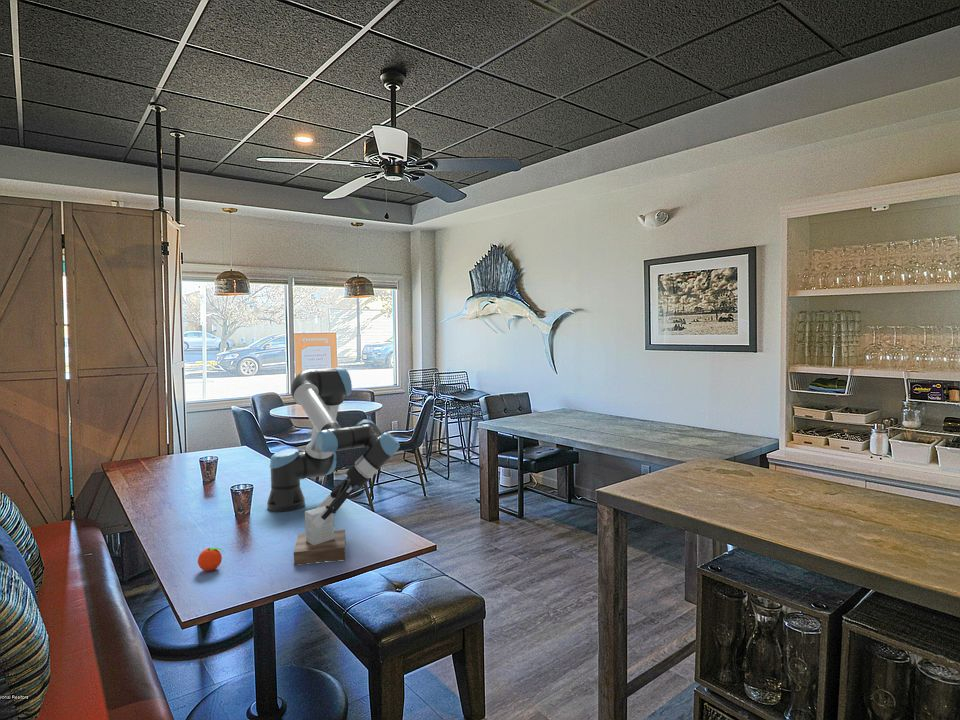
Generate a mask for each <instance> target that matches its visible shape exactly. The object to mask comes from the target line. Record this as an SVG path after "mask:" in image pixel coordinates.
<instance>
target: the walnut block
mask: <svg viewBox="0 0 960 720" xmlns="http://www.w3.org/2000/svg"><path fill="white" fill-rule="evenodd" d="M338 560H345V561H346V529H341V530H334V539H333V540H330V541H327V542H323V543H320V544H317V545H312V544H310V543H308V542H307V541H306V532H304V533H297V537H296V541H295V545H294V550H293V566H299V565H298V564H304V565H308V564H307V563H314V564H317V563H316V562H325V561H335V562H339V561H338ZM325 563H326V562H325Z"/></svg>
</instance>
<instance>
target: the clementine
mask: <svg viewBox="0 0 960 720" xmlns="http://www.w3.org/2000/svg"><path fill="white" fill-rule="evenodd" d="M220 551H223V552H224V554H226V552H225V551H224V550H223V549H222V548H219V547H209V548H204V550H202V551H201V552H200V554H199V555H198V558H197V565H198V567H199V568H200V569H201V570H203V571H204V572H211V571H215V570H216V569H217V568H219V566H220V565H221V564H222V560H223V559H222V558H223V557H222V553H221V552H220Z"/></svg>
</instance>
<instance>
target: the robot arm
mask: <svg viewBox="0 0 960 720" xmlns="http://www.w3.org/2000/svg"><path fill="white" fill-rule="evenodd" d="M352 389H353V385H352V379H351V375H350V374H349V371H348V370H347V369H346V368H344V367H331V368H330V367H329V368H310V369H306V370H303V371H301V372H299V373H298V374H297V375H296V376H295V378H294V379H293V381H292V383H291V387H290V392H291V393H290V394H291V396H292V398H293V401H294V402H295V403H296V404H297V405H299V406H301V408H302V410H303V411H304V412H305V414H306V416H307V417H308V420H310V423H311V424H312V425H313V427H312V431H311V437H310V442H308V444H306V446H305V450H302V451H300V450H299V449H297V448H287V449H283V450H280V451H277V452H274V454H272V455H271V457H270V464H269V468H270V487H271V489H270V492H269V496H268V498H267V509H268V510H269V511H272V512H288V511H294V510H298V509H300V508H302V507H304V506H305V504H306V502H305V501H306V500H305V496H304V493H303V490H302V488H301V480H305V479H312V478H318V477H324V476H327V475H330V474H332V473H333V472H334V471H335V469H336V466H337V453H336V452H338V451H339V452H341V451H345V450H351V449H359V448H365V449H366V451H365V452H364V453H363V454H361V456H360V457H359V458H358V459H357V460H356V461H355V462H354V464H352V465H351V466H350V467H349V468H348V470H347V471H346V478H345V479H343V480H342V481H341V482H340V483H338V485H337V486H335V487H334V488H332V490H331V492H330V493H329V494H328V496H327V497H326V498H325V499H324V500H322V502H321V503H320V504H319V505H318V506H317V507H316V508H319V507H323V506H326V509H325V510H324V511H323V512H322V513H321V514H320V515H319V516H318V517H317V518H316V519H315V520H314V521H313V522H312V523H313V524H314V525H316V526H317V527H318V528H319V527H320V526H321V525H322V524H323V523H324V522H325V521H326V520H327V519H328V518H329V517H330V516H331V515H332V514H336V512H337V511H338V510H339V509H340V508H341V506H342V505H343V504H344V503H345V501H347V499H348V498H349V497H350V495H351V494H352V493H354V490H355V489H354V488H355V486H357V487H359V488H363V487H364V486H365V485H366V484H367V483H368V482H369V480H370V479H372V478H373V476H374V475H378V473H379V472H378V471H379V470H380V469H381V468H382V467H383V466H384V465H385V464H386V463H387V462H388V461H389V460H390V459H391V458H392V457H393V456H394V455H395V453H397V452H398V450H399V449H400V447H401V445H400V443H399V441H398V440H397V439H396V438H395V437H394V436H393V435H392V434H391V433H389V432H387V431H384V432H382V431H381V430H380V428H379V426H377V424H375V423H374V422H373V421H372V420H370V419H362V420H360V421H359V422H357V423H356V425H355V426H347V427H341V425H340V424H339V422H338V420H337V416H338V411H339V407H340V406H341V405H342V404H343V402H345V401H344V400H345V396H346V397H347V396H350V395H351V394H352Z"/></svg>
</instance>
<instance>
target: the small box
mask: <svg viewBox="0 0 960 720" xmlns="http://www.w3.org/2000/svg"><path fill="white" fill-rule="evenodd" d="M325 509H326V506H323V507H319V508H317V507H316V508H312V509H309V510H305V511H304V525H305V526H304V528H305V533H306V541H307V542H308V543H310V544H312V545H317V544H320V543H323V542H327V541H330V540H333V539H334V531H335V520H334V519H335V518H334V517H335V515H334V514H332V515H331V516H330V517H329V518H328V519H327V520H326V521H325V522H324V523H323V524H322V525H321V526H320V527H319V528H318V527H317V526H316V525H314V524H313V523H312V522H313V521H314V520H315V519H316V518H317V517H318V516H319V515H320V514H321V513H322V512H323V511H324V510H325Z"/></svg>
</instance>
